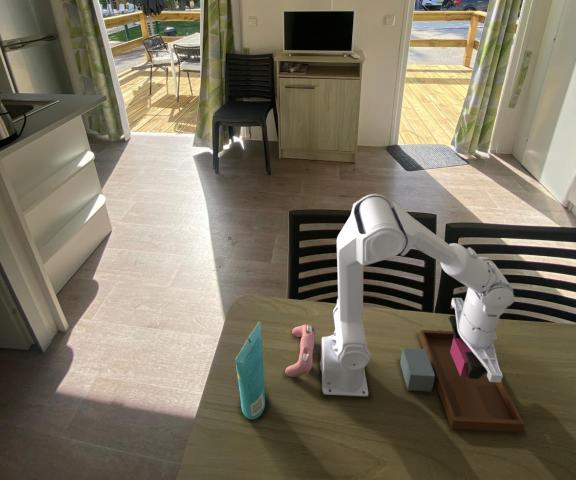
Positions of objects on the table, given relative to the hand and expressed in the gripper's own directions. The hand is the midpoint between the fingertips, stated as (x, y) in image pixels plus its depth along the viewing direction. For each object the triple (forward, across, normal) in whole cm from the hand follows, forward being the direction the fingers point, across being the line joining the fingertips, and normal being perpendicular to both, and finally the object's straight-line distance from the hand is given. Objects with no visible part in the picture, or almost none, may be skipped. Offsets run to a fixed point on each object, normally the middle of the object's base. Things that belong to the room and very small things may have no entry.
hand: (466, 362), depth 63 cm
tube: (+6, -6, +45) cm, 46 cm away
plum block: (+1, 0, 0) cm, 1 cm away
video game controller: (+6, +3, +35) cm, 36 cm away
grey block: (+5, 0, +10) cm, 11 cm away
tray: (+5, 0, 0) cm, 5 cm away
